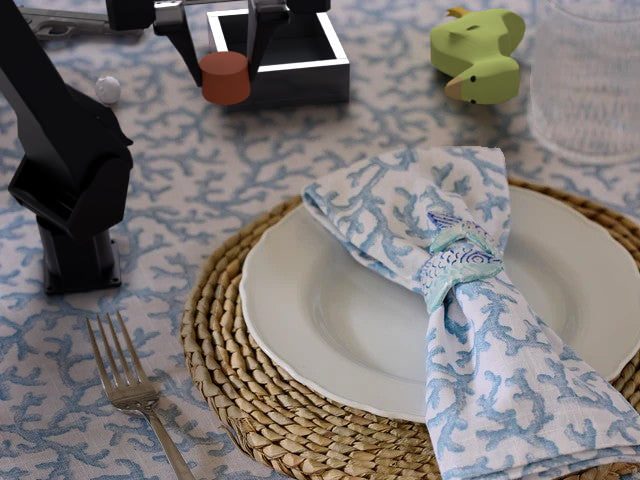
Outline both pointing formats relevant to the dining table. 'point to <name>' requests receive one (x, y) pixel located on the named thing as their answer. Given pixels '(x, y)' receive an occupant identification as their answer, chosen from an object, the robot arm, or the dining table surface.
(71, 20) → the pistol
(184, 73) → the dining table surface
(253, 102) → the dark grey open box
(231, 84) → the stopper
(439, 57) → the toy
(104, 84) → the white bumpy ball
